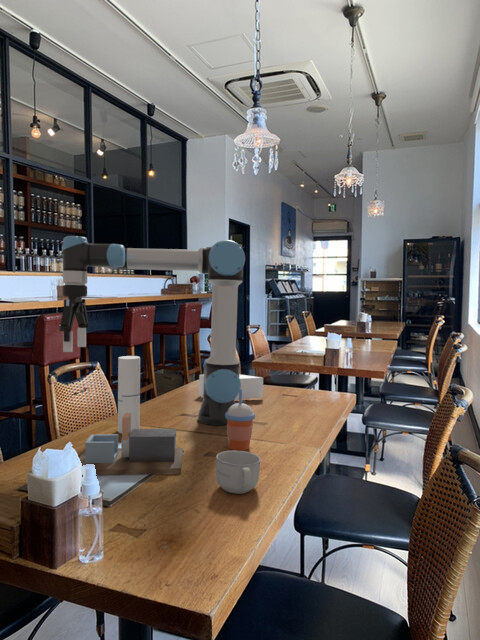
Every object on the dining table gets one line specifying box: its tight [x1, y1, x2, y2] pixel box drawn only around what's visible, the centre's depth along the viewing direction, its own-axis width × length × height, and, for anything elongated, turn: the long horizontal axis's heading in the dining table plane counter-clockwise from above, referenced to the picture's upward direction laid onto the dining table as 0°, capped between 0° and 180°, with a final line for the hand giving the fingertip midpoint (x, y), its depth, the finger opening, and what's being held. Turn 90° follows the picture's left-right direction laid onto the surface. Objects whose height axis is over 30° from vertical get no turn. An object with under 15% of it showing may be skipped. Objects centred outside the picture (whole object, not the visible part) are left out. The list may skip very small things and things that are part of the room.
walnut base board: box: [78, 447, 184, 476], centre depth 126 cm, size 28×16×2 cm, turn 95°
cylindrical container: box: [117, 355, 141, 434], centre depth 155 cm, size 7×7×25 cm
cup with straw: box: [225, 389, 256, 451], centre depth 140 cm, size 9×9×18 cm
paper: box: [198, 373, 264, 400], centre depth 206 cm, size 14×29×10 cm, turn 82°
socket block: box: [84, 433, 119, 463], centre depth 125 cm, size 7×7×6 cm
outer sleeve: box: [129, 428, 177, 463], centre depth 126 cm, size 12×7×7 cm, turn 95°
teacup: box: [215, 450, 262, 495], centre depth 109 cm, size 14×11×8 cm
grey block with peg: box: [120, 413, 131, 457], centre depth 126 cm, size 13×5×11 cm, turn 95°
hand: (75, 349), depth 151 cm, fingers open, 13 cm apart
